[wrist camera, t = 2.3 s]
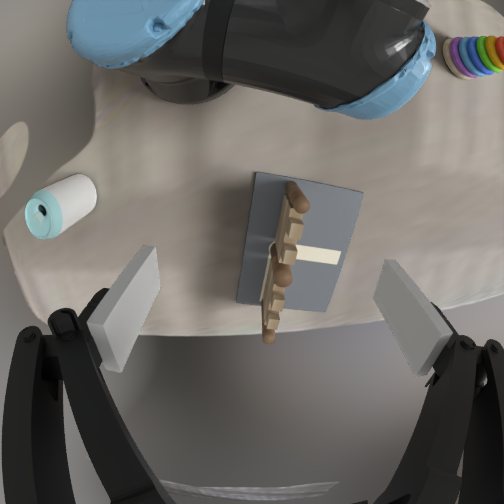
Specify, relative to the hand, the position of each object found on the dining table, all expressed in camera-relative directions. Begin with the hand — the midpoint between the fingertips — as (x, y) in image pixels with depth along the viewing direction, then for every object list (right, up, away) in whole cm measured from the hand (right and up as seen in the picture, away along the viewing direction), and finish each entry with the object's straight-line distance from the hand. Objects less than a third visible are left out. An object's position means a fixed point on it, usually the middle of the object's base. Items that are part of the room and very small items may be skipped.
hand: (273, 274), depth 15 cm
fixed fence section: (+2, -2, +29) cm, 29 cm away
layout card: (+6, +1, +27) cm, 28 cm away
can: (-29, +11, +23) cm, 39 cm away
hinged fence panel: (+4, +7, +23) cm, 25 cm away
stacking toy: (+33, +34, +11) cm, 49 cm away
